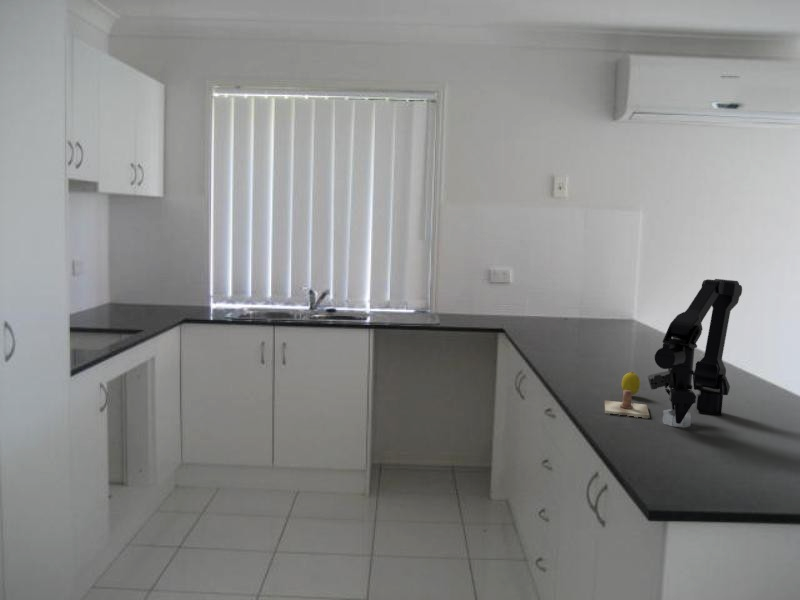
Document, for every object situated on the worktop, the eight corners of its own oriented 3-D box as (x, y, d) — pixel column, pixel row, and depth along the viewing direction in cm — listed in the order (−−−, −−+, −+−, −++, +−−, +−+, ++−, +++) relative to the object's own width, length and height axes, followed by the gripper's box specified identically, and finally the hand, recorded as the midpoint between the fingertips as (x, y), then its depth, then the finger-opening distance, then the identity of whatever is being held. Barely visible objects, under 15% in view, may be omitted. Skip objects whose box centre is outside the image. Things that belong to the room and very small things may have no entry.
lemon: (627, 398, 226) (629, 373, 225) (617, 394, 231) (619, 369, 230) (642, 398, 227) (644, 373, 226) (632, 393, 232) (634, 369, 231)
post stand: (646, 407, 216) (647, 388, 215) (649, 418, 204) (651, 398, 203) (604, 403, 218) (606, 384, 218) (605, 413, 207) (606, 393, 206)
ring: (688, 421, 203) (689, 411, 202) (691, 428, 196) (692, 417, 196) (661, 418, 205) (662, 408, 204) (664, 425, 198) (665, 414, 197)
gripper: (648, 355, 209) (643, 408, 211) (653, 368, 191) (648, 425, 193) (689, 359, 206) (684, 412, 208) (698, 372, 189) (693, 430, 190)
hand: (676, 419), depth 200 cm, fingers closed on ring, 7 cm apart
